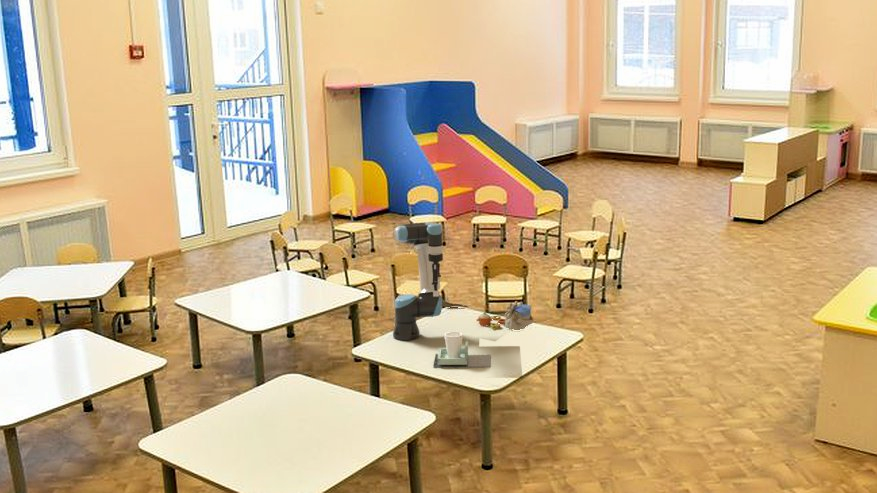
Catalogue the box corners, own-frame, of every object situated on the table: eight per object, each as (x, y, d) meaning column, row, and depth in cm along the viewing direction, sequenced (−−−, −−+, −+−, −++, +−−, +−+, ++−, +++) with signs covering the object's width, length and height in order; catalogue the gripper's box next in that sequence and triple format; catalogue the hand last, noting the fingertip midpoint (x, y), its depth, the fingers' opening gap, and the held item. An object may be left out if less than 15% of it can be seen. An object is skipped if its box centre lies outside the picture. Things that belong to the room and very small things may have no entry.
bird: (470, 312, 538) (469, 297, 536) (466, 316, 531) (466, 300, 529) (442, 310, 544) (442, 295, 542) (438, 314, 537) (438, 298, 535)
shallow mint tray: (439, 354, 460) (439, 341, 459) (468, 354, 459) (467, 341, 458) (437, 366, 443) (437, 352, 442) (467, 365, 442) (466, 352, 441)
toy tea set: (497, 333, 496) (496, 317, 494) (474, 329, 505) (473, 313, 503) (519, 321, 517) (519, 306, 515) (497, 318, 526) (496, 302, 524)
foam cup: (463, 355, 455) (463, 331, 452) (462, 361, 446) (462, 336, 443) (445, 355, 456) (445, 331, 453) (444, 361, 446) (443, 337, 444)
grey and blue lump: (516, 318, 523) (516, 293, 520) (541, 321, 515) (541, 295, 512) (498, 330, 501) (498, 304, 497) (525, 334, 493) (524, 307, 490)
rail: (435, 355, 461) (435, 353, 460) (490, 355, 459) (490, 353, 458) (433, 367, 443) (433, 365, 443) (490, 367, 441) (490, 364, 441)
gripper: (430, 248, 462) (431, 286, 466) (426, 258, 437) (427, 299, 442) (444, 248, 461) (445, 286, 466) (441, 258, 437) (442, 299, 441)
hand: (436, 292), depth 454 cm, fingers open, 13 cm apart
